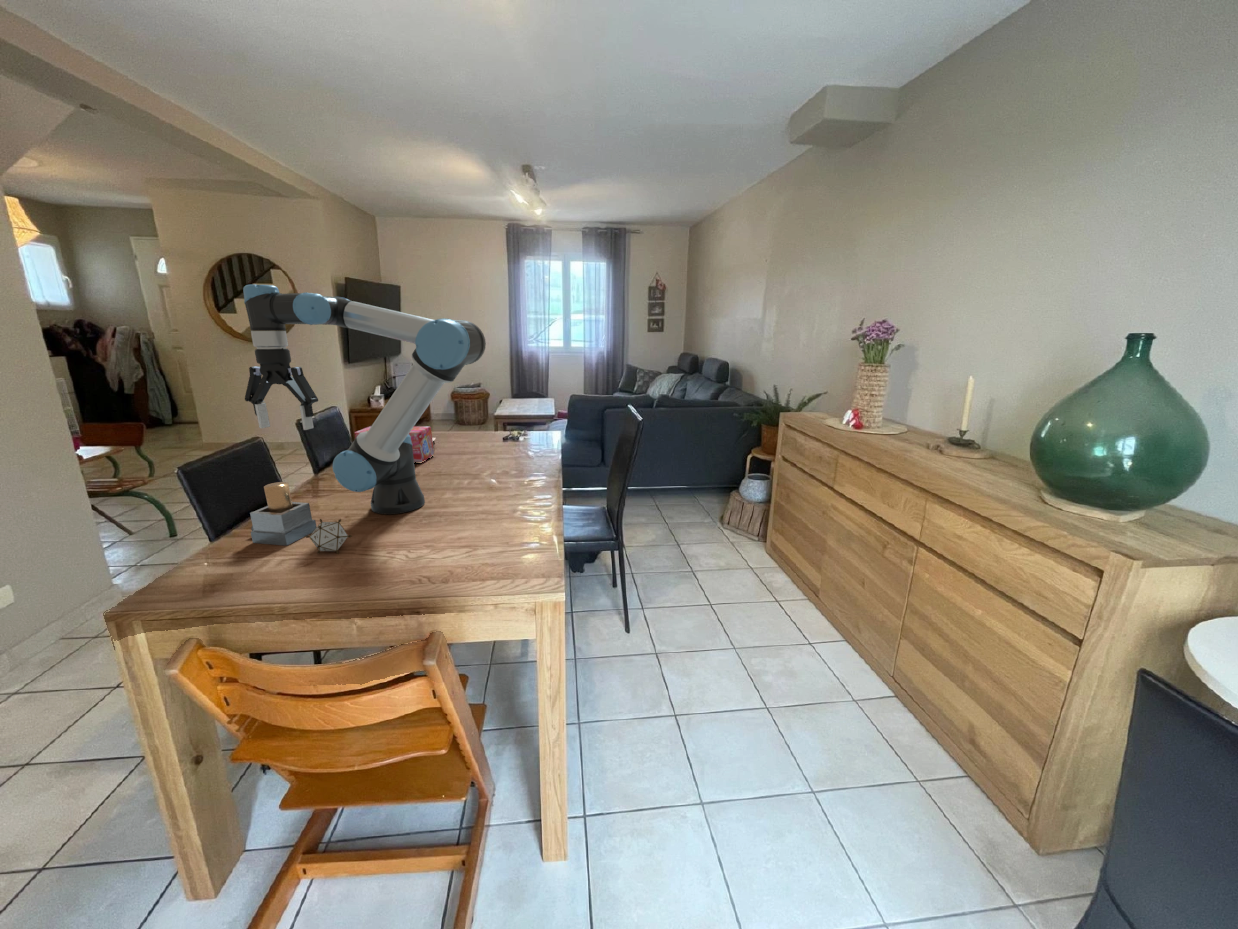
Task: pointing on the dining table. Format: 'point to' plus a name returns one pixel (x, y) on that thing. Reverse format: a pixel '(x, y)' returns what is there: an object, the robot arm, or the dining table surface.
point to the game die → (328, 536)
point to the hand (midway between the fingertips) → (286, 428)
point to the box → (416, 442)
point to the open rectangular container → (282, 525)
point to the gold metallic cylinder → (278, 497)
